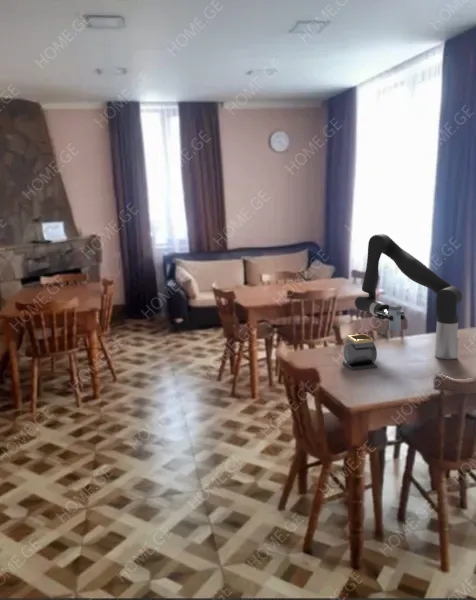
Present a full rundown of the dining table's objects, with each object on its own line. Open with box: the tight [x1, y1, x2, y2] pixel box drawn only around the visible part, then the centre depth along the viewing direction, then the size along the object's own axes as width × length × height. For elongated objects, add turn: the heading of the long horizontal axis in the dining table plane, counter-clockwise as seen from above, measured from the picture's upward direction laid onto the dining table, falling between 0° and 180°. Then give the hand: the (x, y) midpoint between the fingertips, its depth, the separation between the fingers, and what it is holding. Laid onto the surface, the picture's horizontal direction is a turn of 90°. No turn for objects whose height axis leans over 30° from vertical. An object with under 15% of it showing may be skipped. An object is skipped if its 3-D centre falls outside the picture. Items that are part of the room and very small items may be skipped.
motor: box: [342, 333, 378, 371], centre depth 229 cm, size 12×10×14 cm
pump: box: [388, 304, 403, 332], centre depth 230 cm, size 7×6×11 cm
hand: (398, 318), depth 228 cm, fingers closed on pump, 5 cm apart
